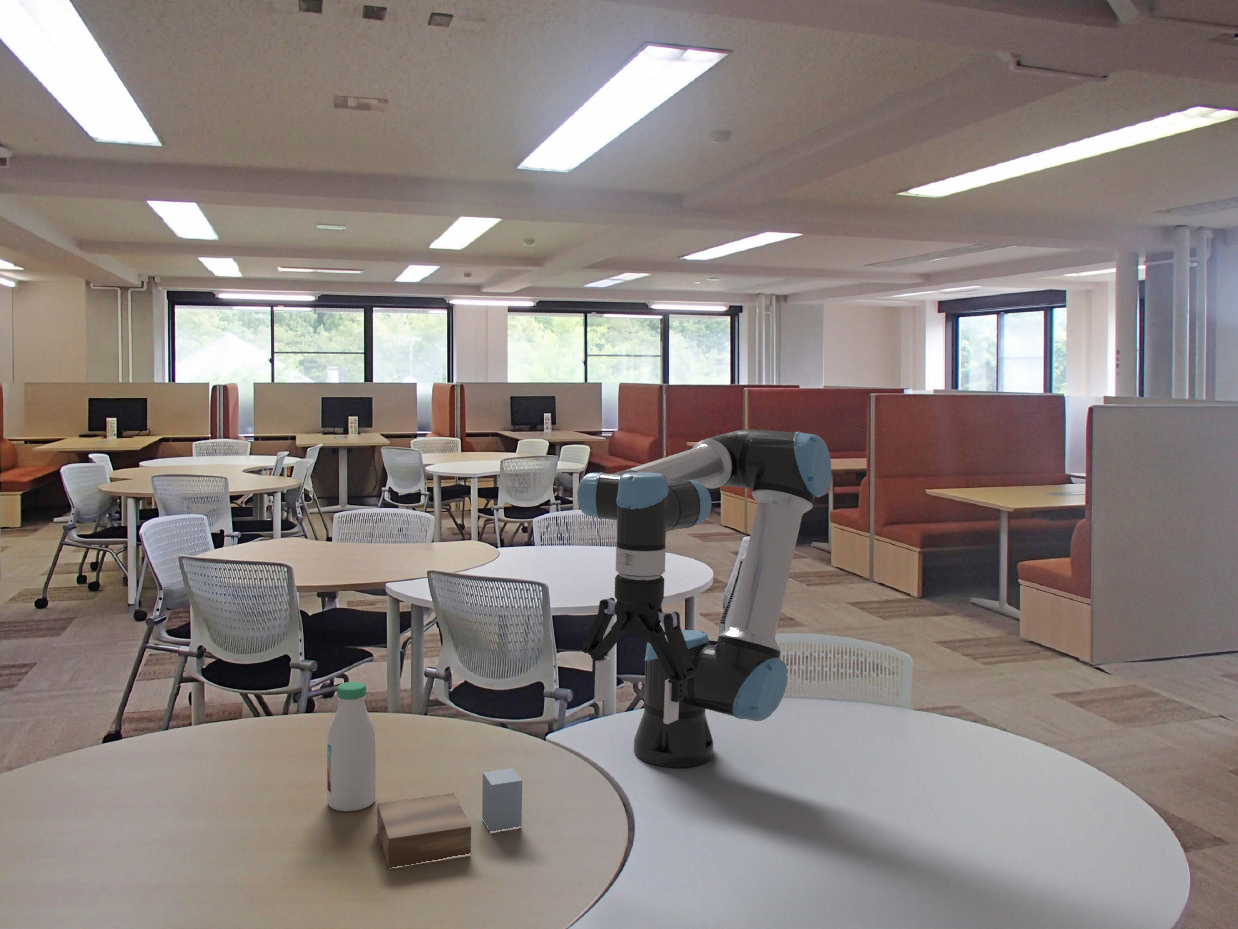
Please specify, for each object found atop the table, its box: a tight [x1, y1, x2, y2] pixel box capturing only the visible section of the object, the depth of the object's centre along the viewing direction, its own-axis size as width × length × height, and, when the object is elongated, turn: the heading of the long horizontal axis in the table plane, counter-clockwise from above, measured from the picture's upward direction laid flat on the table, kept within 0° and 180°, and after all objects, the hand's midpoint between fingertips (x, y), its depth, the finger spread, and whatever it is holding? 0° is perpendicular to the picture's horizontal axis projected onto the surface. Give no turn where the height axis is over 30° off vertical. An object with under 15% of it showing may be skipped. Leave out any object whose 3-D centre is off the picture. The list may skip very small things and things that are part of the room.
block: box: [481, 767, 523, 831], centre depth 156 cm, size 5×5×8 cm
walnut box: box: [376, 792, 472, 868], centre depth 150 cm, size 12×12×5 cm
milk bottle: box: [326, 681, 377, 812], centre depth 162 cm, size 8×8×20 cm
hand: (635, 710), depth 151 cm, fingers open, 13 cm apart
